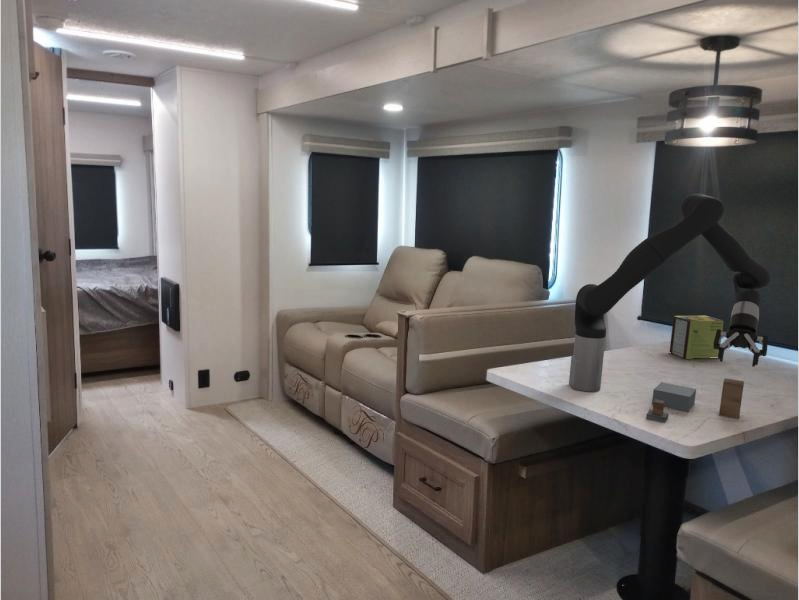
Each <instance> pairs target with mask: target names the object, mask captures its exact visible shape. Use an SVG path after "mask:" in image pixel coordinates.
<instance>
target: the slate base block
mask: <svg viewBox="0 0 799 600" xmlns="http://www.w3.org/2000/svg"><path fill="white" fill-rule="evenodd" d="M696 395H697V388H693V387H689V386H683V385H678V384H673V383H668V382H662V381H661V382H660V383H659V384H658V385H657V386H656V387H654V388H653V391H652V399H651V400H652V401H651V405H652V404H653V402H654V400H655V399H657V400H662V401H665V402H664V408H665V407H667V408H666V409H670V408H671V409H670V410H674V411H680V412H684V413H689V412H690V410H691V409H692V408H693V406H694V405H695V402H696Z"/></svg>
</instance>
